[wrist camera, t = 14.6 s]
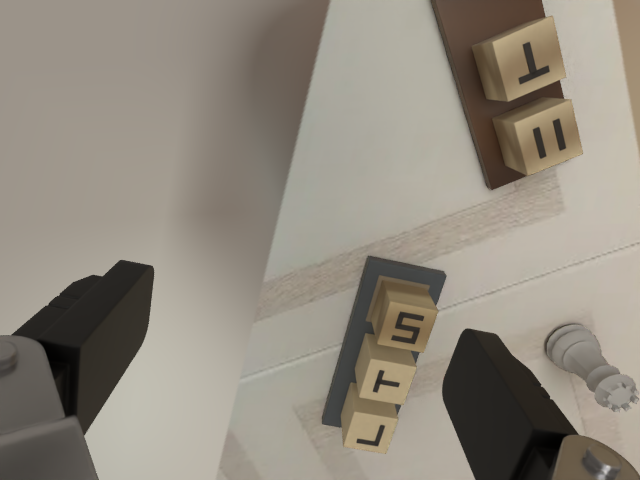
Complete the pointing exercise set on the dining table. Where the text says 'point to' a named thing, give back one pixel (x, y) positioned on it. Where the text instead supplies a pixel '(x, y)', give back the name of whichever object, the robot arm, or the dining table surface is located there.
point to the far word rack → (374, 362)
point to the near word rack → (509, 85)
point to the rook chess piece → (591, 366)
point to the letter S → (403, 316)
